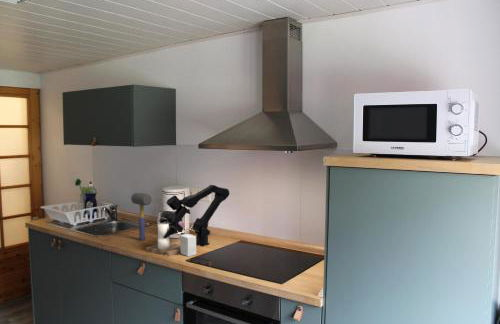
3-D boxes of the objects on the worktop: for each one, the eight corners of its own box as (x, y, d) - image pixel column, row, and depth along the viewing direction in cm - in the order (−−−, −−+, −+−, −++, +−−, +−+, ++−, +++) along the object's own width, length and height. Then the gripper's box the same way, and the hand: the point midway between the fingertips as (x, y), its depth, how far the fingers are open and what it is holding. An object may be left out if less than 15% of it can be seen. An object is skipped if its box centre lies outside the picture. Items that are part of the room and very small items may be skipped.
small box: (196, 254, 224) (196, 236, 224) (187, 256, 221) (187, 237, 220) (188, 251, 230) (188, 233, 230) (180, 253, 227) (179, 235, 226)
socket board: (187, 249, 234) (187, 246, 234) (168, 256, 221) (168, 252, 221) (165, 245, 244) (165, 242, 244) (146, 251, 232) (146, 247, 231)
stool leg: (170, 249, 233) (169, 222, 232) (169, 253, 227) (169, 224, 225) (158, 250, 232) (157, 222, 231) (157, 253, 226) (156, 225, 224)
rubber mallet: (153, 240, 255) (152, 193, 253) (143, 243, 249) (143, 194, 247) (140, 237, 262) (139, 191, 261) (131, 240, 256) (130, 192, 254)
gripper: (161, 204, 237) (144, 225, 231) (177, 208, 223) (159, 231, 217) (173, 216, 243) (157, 237, 236) (190, 221, 229) (173, 243, 222)
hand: (161, 237), depth 228 cm, fingers closed on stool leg, 6 cm apart
